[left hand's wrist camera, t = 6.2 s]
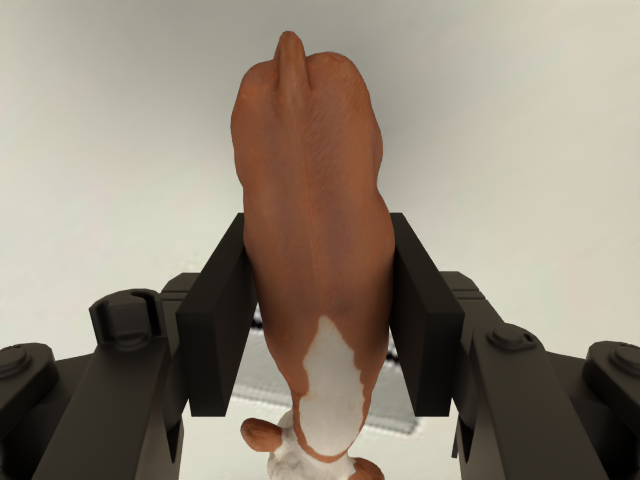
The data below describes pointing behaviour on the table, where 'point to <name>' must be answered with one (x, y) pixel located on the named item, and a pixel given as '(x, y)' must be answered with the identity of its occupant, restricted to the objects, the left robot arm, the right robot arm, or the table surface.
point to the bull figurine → (315, 253)
